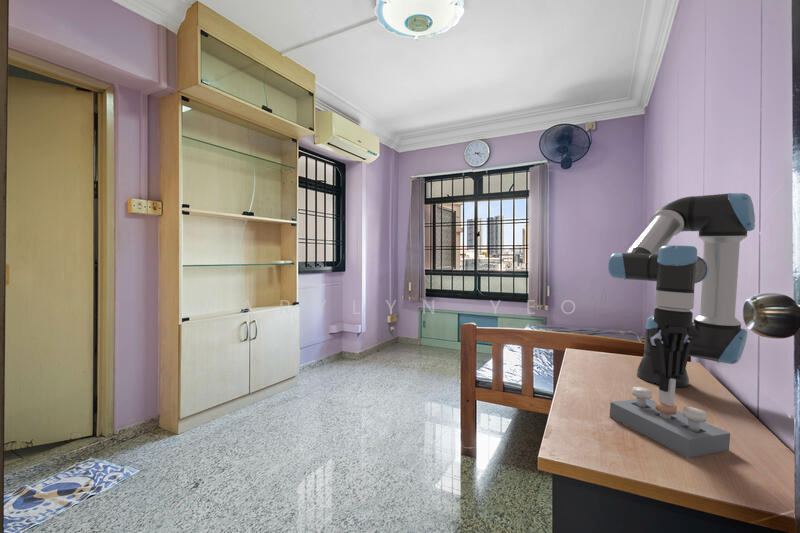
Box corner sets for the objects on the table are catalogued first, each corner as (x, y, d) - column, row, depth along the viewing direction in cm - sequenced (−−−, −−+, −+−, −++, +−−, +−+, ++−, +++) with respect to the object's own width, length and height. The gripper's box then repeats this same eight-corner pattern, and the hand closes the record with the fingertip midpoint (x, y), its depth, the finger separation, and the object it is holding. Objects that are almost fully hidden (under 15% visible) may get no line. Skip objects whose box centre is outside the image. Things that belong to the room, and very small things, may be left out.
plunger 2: (690, 427, 86) (691, 406, 86) (709, 436, 82) (711, 413, 82) (677, 429, 85) (678, 407, 85) (696, 438, 81) (698, 415, 81)
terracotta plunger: (662, 420, 93) (664, 400, 92) (679, 428, 89) (681, 407, 88) (650, 421, 91) (651, 401, 91) (667, 430, 87) (668, 408, 87)
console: (645, 412, 102) (646, 398, 101) (728, 450, 82) (730, 433, 82) (609, 416, 98) (610, 402, 97) (688, 457, 79) (689, 439, 78)
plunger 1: (639, 405, 99) (640, 386, 99) (654, 411, 95) (655, 392, 95) (627, 406, 97) (628, 387, 97) (642, 413, 93) (643, 393, 93)
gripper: (676, 306, 94) (670, 395, 95) (638, 306, 90) (632, 399, 91) (708, 311, 87) (701, 407, 88) (669, 311, 83) (661, 412, 84)
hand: (666, 403), depth 90 cm, fingers closed
